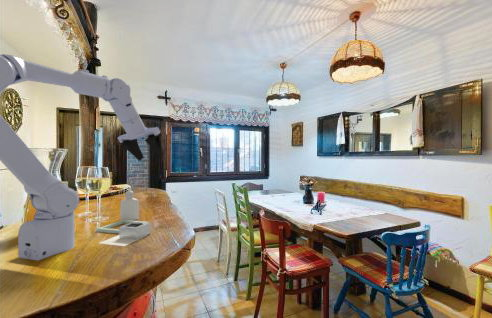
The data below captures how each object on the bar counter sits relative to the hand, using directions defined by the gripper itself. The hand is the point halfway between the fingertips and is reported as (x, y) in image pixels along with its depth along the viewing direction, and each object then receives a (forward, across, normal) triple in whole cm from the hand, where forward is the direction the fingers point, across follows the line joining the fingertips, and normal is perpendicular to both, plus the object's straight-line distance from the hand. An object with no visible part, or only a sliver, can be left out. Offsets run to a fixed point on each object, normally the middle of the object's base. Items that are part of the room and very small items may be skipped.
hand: (150, 157), depth 77 cm
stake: (+13, -2, +22) cm, 25 cm away
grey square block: (+13, -2, +22) cm, 25 cm away
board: (+12, -1, +25) cm, 28 cm away
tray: (+15, +7, +17) cm, 24 cm away
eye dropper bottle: (+19, +13, +10) cm, 25 cm away
